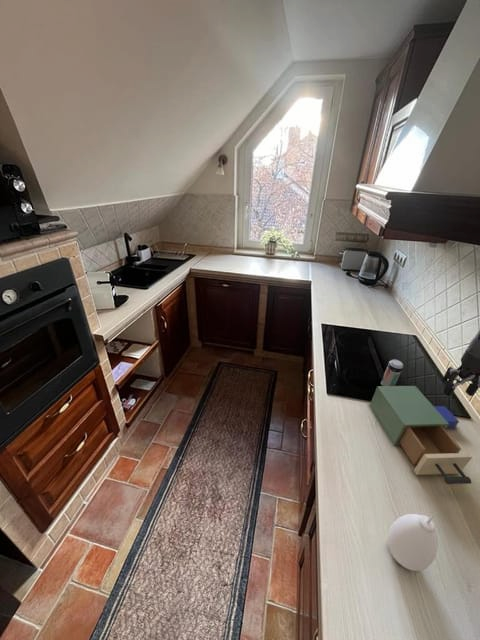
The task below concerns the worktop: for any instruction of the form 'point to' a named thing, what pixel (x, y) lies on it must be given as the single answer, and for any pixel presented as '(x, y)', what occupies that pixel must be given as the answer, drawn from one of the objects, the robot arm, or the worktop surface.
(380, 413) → the cabinet
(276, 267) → the worktop surface
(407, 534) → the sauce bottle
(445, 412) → the blue block
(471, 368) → the robot arm
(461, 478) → the drawer
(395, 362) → the beer can
